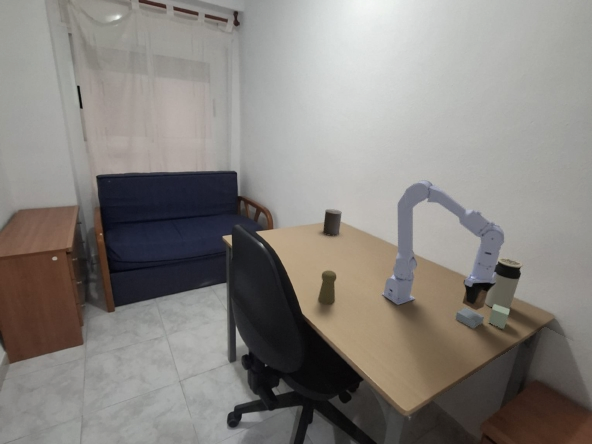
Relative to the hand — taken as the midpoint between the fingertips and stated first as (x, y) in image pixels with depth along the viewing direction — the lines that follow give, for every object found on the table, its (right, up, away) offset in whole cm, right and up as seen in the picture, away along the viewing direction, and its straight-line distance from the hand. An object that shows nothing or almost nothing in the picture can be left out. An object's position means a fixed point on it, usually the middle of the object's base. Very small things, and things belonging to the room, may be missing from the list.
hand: (474, 300), depth 97 cm
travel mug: (+16, -5, +13) cm, 22 cm away
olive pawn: (-48, -2, +9) cm, 49 cm away
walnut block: (0, -2, +1) cm, 2 cm away
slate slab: (0, -8, +2) cm, 8 cm away
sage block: (+9, -8, +2) cm, 12 cm away
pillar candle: (-38, +19, +80) cm, 91 cm away
